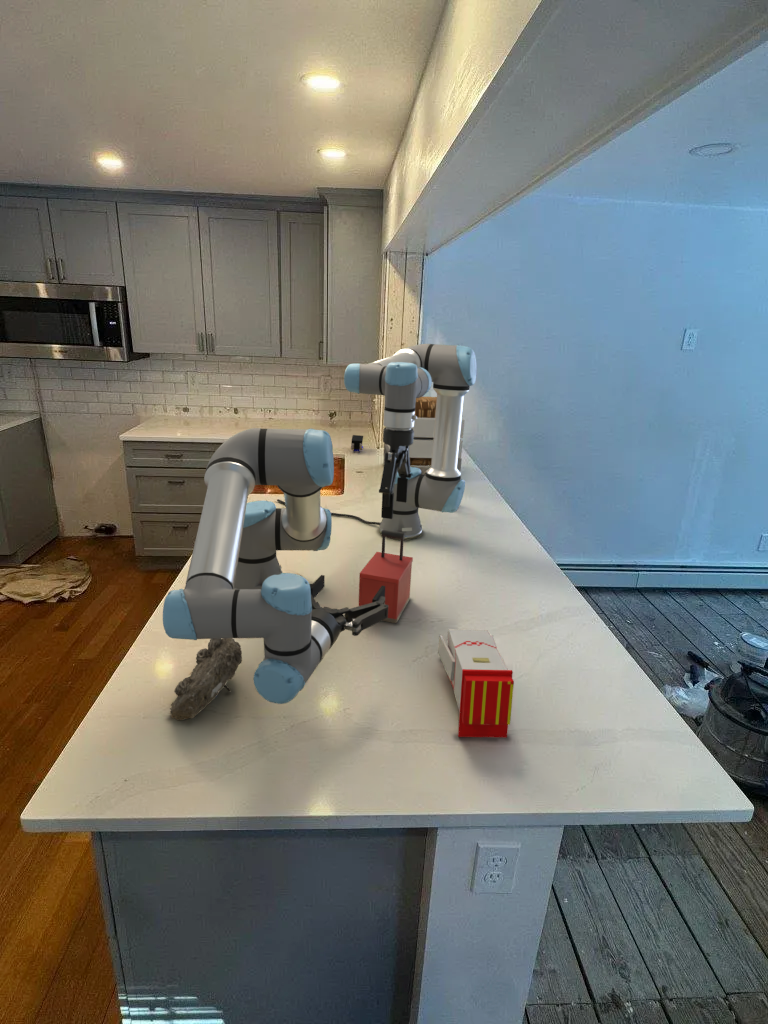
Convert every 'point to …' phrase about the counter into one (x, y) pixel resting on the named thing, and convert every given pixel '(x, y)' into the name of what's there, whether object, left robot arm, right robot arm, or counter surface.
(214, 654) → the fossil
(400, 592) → the chest
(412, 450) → the white boxy piece
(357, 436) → the figurine character
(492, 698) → the toy
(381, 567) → the lid
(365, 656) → the counter surface
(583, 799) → the counter surface
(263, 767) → the counter surface
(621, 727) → the counter surface
